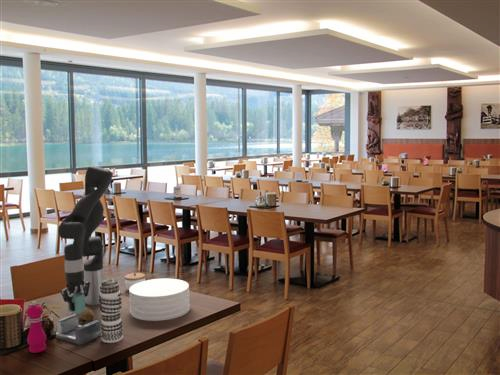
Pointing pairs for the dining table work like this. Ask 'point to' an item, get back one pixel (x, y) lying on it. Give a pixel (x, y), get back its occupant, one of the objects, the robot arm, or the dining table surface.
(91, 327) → the vise
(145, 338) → the dining table surface
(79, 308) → the teal block
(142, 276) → the lidded jar
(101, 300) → the white patterned cylinder
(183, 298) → the plate stack
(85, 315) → the bread roll
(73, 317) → the bar
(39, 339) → the pepper mill
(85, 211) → the robot arm
